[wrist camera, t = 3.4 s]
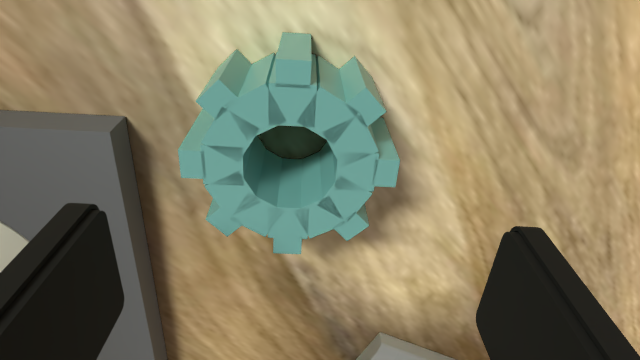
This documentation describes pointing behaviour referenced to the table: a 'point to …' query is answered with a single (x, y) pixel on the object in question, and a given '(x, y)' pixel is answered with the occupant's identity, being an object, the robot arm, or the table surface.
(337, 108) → the teal gear
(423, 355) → the external hard drive
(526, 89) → the table surface
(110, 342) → the gear board
